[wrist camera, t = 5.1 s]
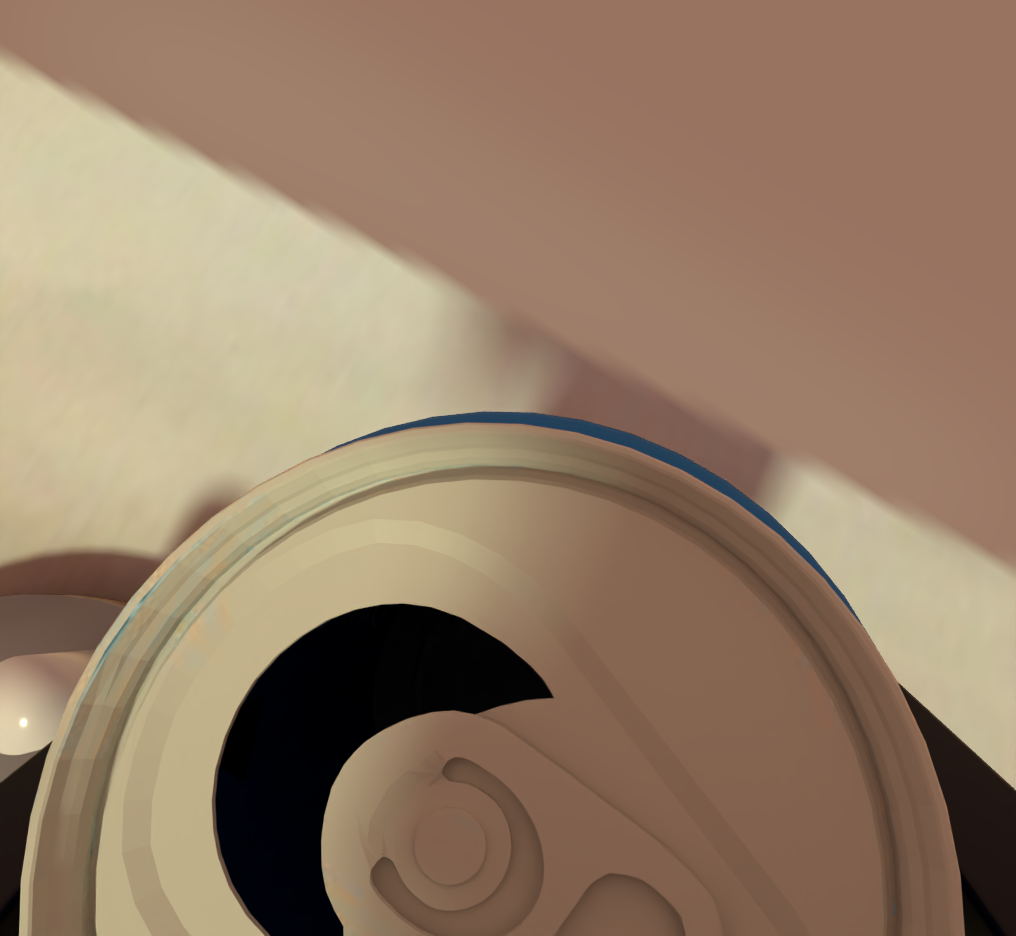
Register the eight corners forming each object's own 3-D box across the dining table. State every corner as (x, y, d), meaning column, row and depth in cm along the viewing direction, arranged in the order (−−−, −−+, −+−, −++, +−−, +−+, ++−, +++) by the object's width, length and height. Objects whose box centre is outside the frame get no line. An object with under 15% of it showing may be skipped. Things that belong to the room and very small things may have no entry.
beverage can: (498, 484, 17) (379, 190, 5) (743, 658, 16) (1256, 757, 4) (321, 726, 16) (-267, 993, 5) (567, 924, 15) (620, 1925, 4)
